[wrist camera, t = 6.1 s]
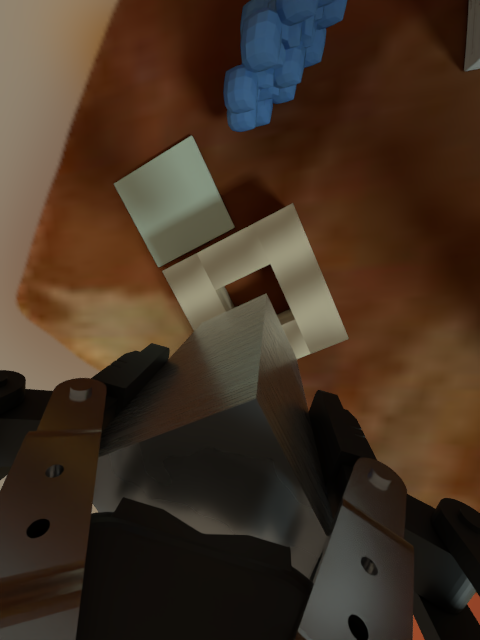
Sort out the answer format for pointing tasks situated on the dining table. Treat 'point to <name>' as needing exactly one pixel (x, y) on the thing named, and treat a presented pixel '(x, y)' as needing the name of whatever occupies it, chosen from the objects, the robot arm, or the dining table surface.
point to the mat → (175, 202)
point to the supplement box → (473, 37)
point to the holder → (251, 255)
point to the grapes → (275, 55)
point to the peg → (224, 438)
